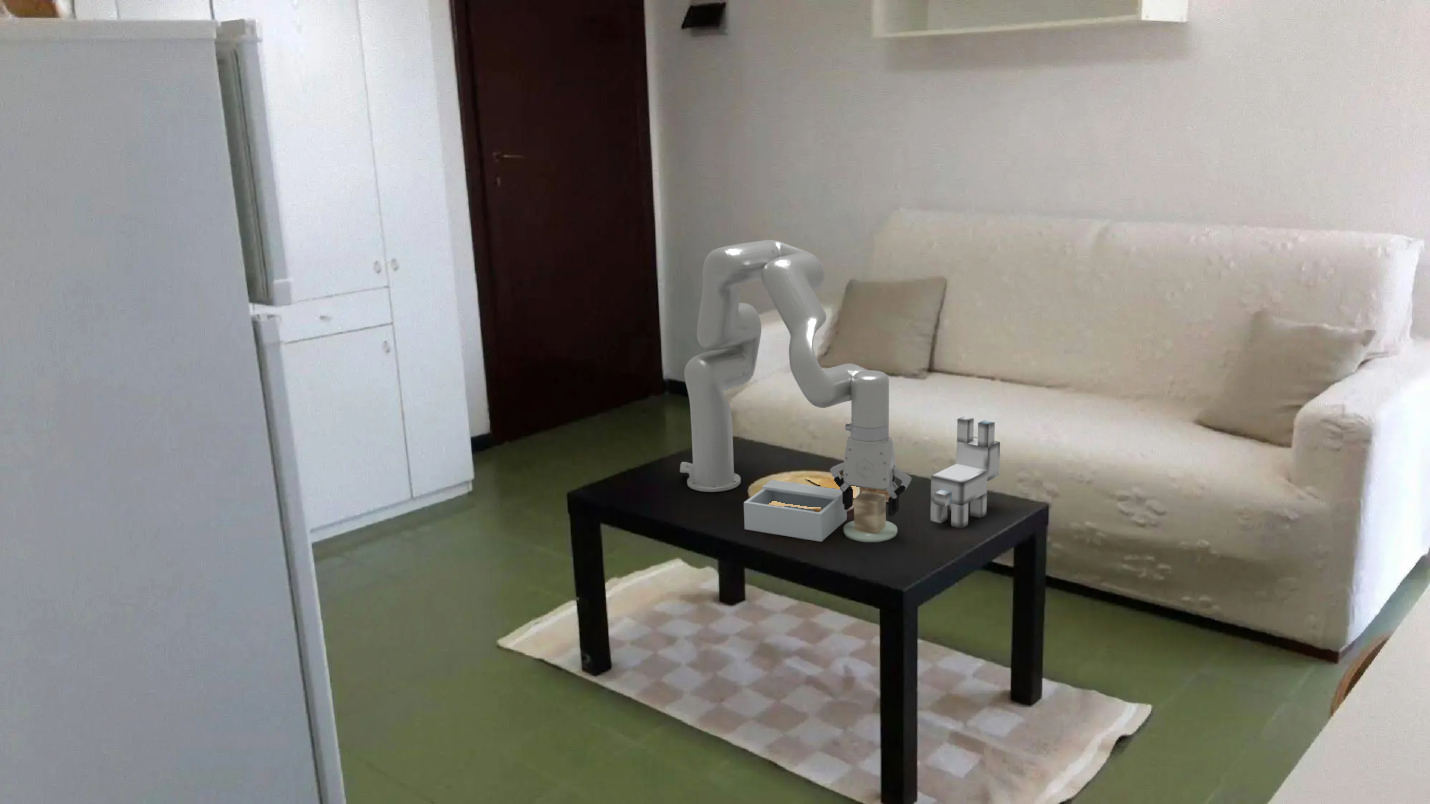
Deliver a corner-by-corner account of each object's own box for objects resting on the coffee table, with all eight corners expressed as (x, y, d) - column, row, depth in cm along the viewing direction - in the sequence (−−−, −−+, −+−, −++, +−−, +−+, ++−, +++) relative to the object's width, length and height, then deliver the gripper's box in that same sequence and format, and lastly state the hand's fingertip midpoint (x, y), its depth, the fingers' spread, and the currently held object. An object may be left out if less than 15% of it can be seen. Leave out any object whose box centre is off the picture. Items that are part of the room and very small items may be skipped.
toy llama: (924, 523, 241) (925, 433, 236) (967, 500, 254) (969, 413, 248) (955, 532, 236) (956, 439, 231) (998, 507, 249) (1000, 419, 243)
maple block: (854, 530, 237) (853, 498, 235) (863, 522, 241) (863, 491, 239) (877, 534, 235) (877, 502, 233) (885, 525, 239) (885, 494, 237)
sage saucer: (835, 537, 236) (835, 533, 236) (855, 519, 245) (855, 515, 245) (886, 545, 231) (886, 541, 231) (904, 526, 240) (904, 523, 240)
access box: (744, 529, 242) (743, 499, 241) (772, 507, 254) (771, 479, 252) (821, 541, 234) (821, 511, 232) (846, 519, 246) (846, 490, 244)
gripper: (823, 432, 233) (824, 511, 238) (904, 441, 225) (904, 523, 230) (837, 422, 240) (838, 499, 244) (917, 431, 232) (916, 510, 236)
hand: (870, 511), depth 237 cm, fingers open, 9 cm apart
